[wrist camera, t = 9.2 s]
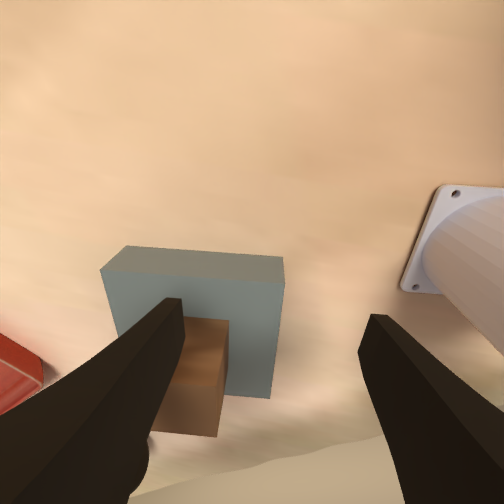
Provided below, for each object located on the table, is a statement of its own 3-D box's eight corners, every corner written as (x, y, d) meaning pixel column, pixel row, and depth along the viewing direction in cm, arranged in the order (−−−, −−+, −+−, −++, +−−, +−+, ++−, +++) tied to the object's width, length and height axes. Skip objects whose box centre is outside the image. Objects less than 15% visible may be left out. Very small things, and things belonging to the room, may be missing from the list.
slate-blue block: (282, 253, 20) (285, 283, 16) (269, 359, 25) (269, 398, 22) (129, 242, 20) (99, 269, 17) (151, 349, 26) (132, 386, 22)
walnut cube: (229, 320, 18) (215, 387, 14) (228, 367, 20) (216, 437, 16) (158, 313, 18) (123, 377, 14) (166, 361, 20) (137, 429, 16)
